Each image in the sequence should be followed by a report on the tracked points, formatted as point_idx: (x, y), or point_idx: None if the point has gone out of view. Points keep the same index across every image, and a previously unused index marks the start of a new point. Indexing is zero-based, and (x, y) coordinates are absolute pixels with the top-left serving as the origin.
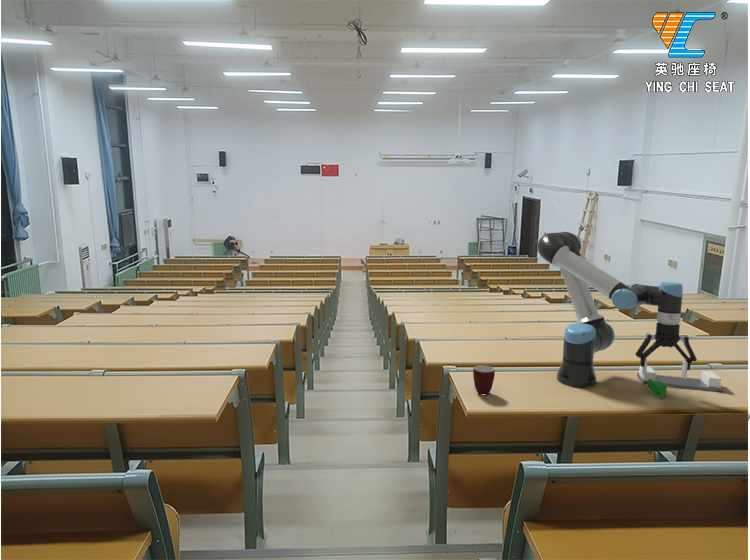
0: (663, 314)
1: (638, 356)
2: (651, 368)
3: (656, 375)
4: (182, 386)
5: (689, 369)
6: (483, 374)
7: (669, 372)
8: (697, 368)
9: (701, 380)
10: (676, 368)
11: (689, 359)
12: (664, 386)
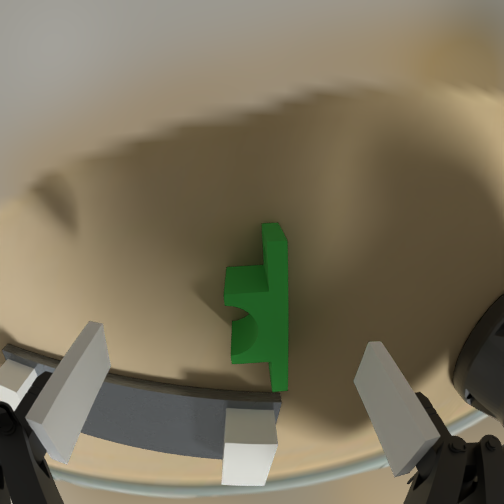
0: None
1: (492, 438)
2: (224, 473)
3: (195, 453)
4: None
5: (41, 374)
6: None
7: (140, 472)
8: (72, 475)
9: None
10: (118, 484)
11: (1, 439)
12: (239, 293)
